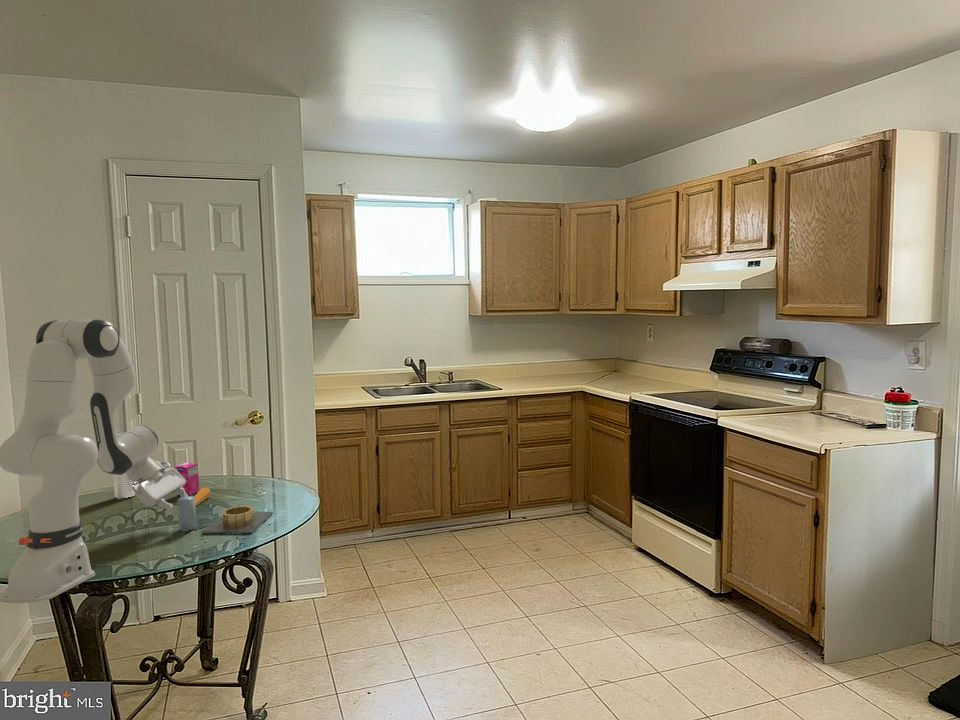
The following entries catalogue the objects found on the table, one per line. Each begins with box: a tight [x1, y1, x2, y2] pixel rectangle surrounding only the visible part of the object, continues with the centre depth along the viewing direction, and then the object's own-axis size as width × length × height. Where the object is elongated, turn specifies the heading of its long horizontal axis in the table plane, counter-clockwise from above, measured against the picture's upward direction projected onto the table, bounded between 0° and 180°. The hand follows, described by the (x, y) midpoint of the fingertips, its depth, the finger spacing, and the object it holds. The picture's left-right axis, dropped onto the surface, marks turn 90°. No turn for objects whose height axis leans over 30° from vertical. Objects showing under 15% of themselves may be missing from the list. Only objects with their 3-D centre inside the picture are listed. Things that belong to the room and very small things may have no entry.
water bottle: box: [112, 431, 136, 499], centre depth 247 cm, size 7×7×25 cm
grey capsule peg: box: [177, 495, 198, 532], centre depth 211 cm, size 5×5×10 cm
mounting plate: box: [201, 511, 274, 534], centre depth 215 cm, size 18×16×1 cm
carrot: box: [194, 487, 211, 508], centre depth 236 cm, size 20×4×4 cm, turn 1°
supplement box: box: [174, 462, 200, 496], centre depth 249 cm, size 6×6×12 cm
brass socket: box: [221, 505, 256, 526], centre depth 214 cm, size 10×10×4 cm
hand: (179, 504), depth 211 cm, fingers open, 8 cm apart
